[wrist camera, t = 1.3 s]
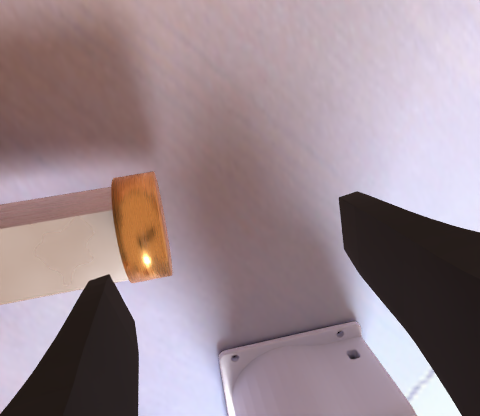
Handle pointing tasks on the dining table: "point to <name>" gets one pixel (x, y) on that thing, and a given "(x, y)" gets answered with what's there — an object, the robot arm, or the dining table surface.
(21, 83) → the dining table surface
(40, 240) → the shaft
